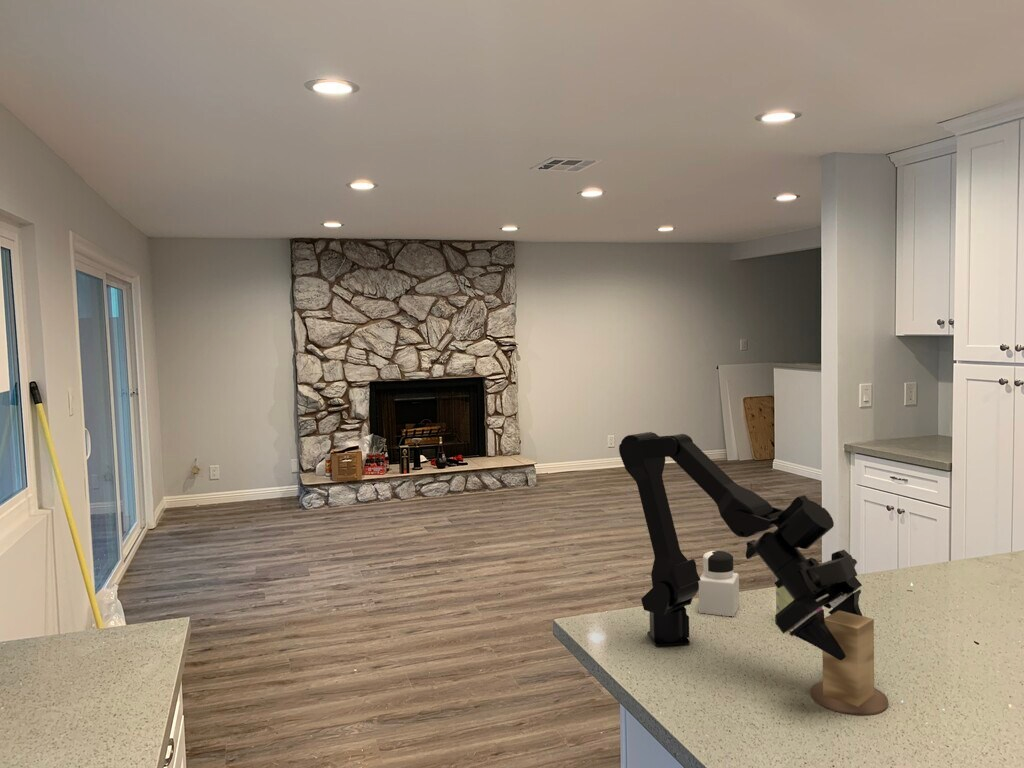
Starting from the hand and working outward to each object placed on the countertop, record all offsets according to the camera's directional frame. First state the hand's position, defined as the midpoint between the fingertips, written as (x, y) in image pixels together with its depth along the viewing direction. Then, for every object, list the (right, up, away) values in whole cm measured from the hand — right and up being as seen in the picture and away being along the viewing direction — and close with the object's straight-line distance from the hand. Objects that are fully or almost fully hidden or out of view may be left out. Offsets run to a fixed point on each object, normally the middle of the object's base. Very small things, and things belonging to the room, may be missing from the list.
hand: (857, 649), depth 118 cm
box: (+3, -7, +32) cm, 33 cm away
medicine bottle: (-10, -6, +42) cm, 44 cm away
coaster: (-1, -8, +1) cm, 8 cm away
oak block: (-1, -8, +1) cm, 8 cm away
